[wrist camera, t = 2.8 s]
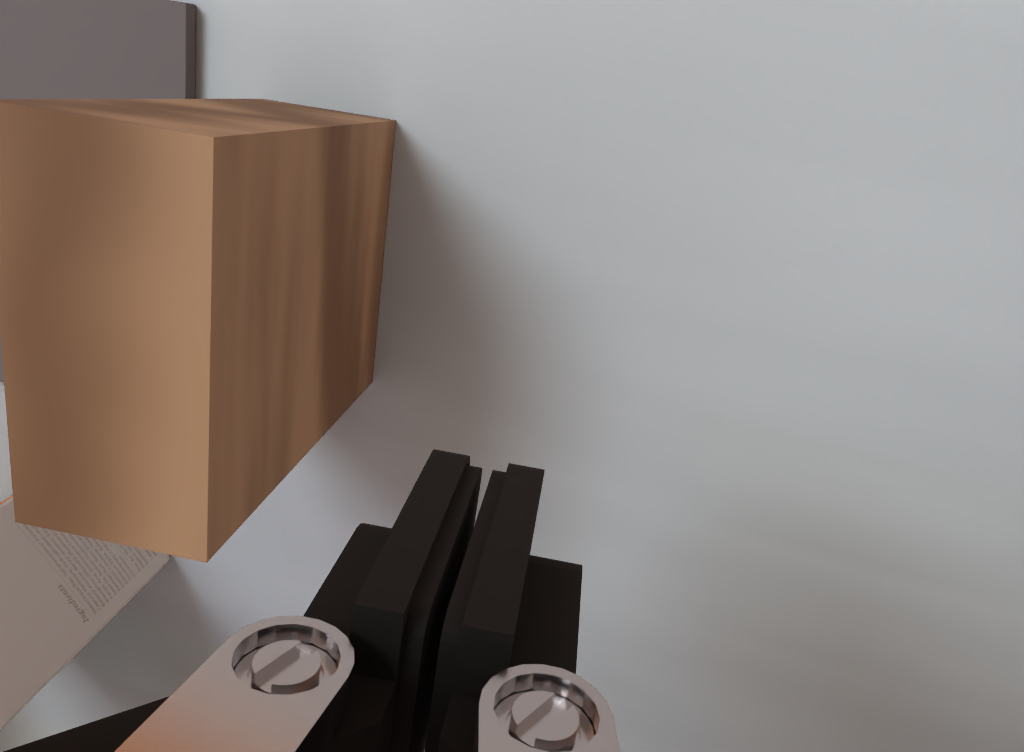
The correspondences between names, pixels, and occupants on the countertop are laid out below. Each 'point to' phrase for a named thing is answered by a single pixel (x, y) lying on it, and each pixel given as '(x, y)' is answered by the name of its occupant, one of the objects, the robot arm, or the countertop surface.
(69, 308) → the slab
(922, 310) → the countertop surface
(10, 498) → the small box
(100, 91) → the mat
